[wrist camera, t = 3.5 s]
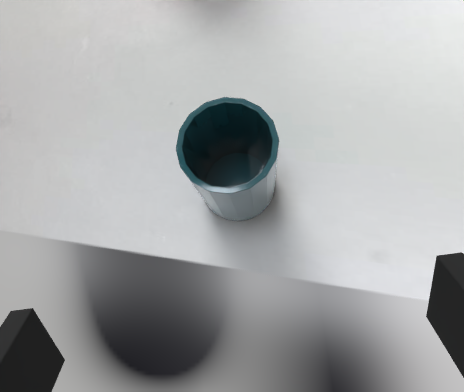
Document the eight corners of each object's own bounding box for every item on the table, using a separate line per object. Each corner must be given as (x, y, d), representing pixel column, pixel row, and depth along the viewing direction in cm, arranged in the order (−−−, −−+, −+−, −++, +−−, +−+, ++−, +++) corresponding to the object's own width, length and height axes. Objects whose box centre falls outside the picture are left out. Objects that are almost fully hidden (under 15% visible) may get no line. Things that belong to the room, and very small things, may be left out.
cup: (197, 216, 36) (168, 187, 25) (208, 148, 38) (185, 93, 27) (270, 225, 35) (272, 198, 24) (278, 154, 37) (283, 101, 26)
